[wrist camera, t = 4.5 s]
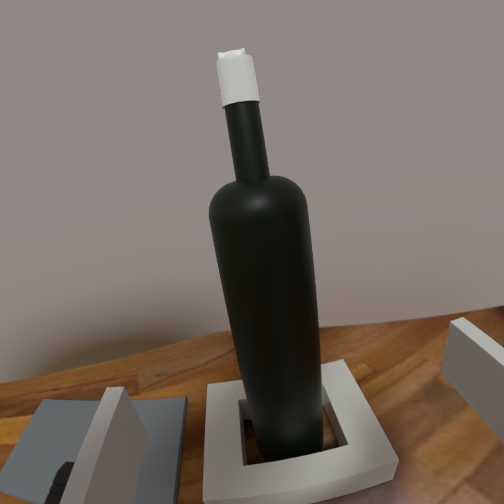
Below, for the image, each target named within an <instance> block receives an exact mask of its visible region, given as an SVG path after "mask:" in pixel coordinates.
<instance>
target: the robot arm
mask: <svg viewBox="0 0 504 504" xmlns="http://www.w3.org/2000/svg"><path fill="white" fill-rule="evenodd" d="M441 374H442V375H443V376H444V377H445V378H446V379H447V380H448V382H449V383H450V384H451V385H452V386H453V387H454V388H455V389H456V390H457V391H458V393H459V394H460V395H461V396H462V397H463V398H464V399H465V400H466V401H467V403H468V404H469V405H470V406H471V407H472V408H473V409H474V410H475V412H476V413H477V414H478V415H479V416H480V417H481V418H482V420H483V421H484V422H485V423H486V424H487V425H488V427H489V428H490V429H491V430H492V431H493V432H494V434H495V435H496V436H497V437H498V438H499V440H500V441H501V442H502V443H503V444H504V348H503V347H502V346H500V345H499V344H498V343H497V342H495V341H494V340H493V339H491V338H490V337H489V336H488V335H486V334H485V333H484V332H482V331H481V330H480V329H478V328H477V327H476V326H474V325H473V324H472V323H470V322H469V321H468V320H466V319H465V318H464V317H461V318H459V319H456V320H453V321H451V322H450V325H449V332H448V338H447V344H446V349H445V354H444V360H443V364H442V369H441ZM147 436H148V433H147V431H146V430H145V428H144V426H143V424H142V422H141V420H140V418H139V416H138V414H137V412H136V410H135V408H134V406H133V404H132V402H131V400H130V398H129V396H128V394H127V392H126V390H125V387H107V389H106V391H105V393H104V395H103V397H102V400H101V402H100V404H99V406H98V409H97V411H96V413H95V415H94V418H93V420H92V422H91V425H90V427H89V429H88V432H87V434H86V437H85V439H84V441H83V444H82V446H81V449H80V451H79V454H78V456H77V459H76V461H75V462H68V461H66V462H65V463H64V464H63V465H62V466H61V467H60V468H59V470H58V471H57V473H56V475H55V477H54V480H53V485H51V487H50V490H49V494H48V495H47V498H46V500H45V503H44V504H133V503H134V498H135V493H136V488H137V483H138V478H139V473H140V468H141V463H142V459H143V454H144V450H145V445H146V441H147Z"/></svg>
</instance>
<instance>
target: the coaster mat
mask: <svg viewBox="0 0 504 504" xmlns="http://www.w3.org/2000/svg"><path fill="white" fill-rule="evenodd" d="M100 402H101V401H76V400H51V399H43V401H42V402H41V404H40V406H39V407H38V409H37V410H36V412H35V414H34V415H33V417H32V418H31V420H30V422H29V423H28V425H27V427H26V428H25V430H24V432H23V433H22V435H21V437H20V438H19V440H18V442H17V444H16V445H15V447H14V449H13V451H12V452H11V454H10V456H9V458H8V460H7V461H6V463H5V465H4V467H3V469H2V471H1V472H0V492H2V493H5V494H7V495H10V496H13V497H16V498H18V499H21V500H24V501H27V502H30V503H34V504H44V503H45V500H46V498H47V495H48V494H49V490H50V487H51V485H53V480H54V477H55V475H56V473H57V471H58V470H59V468H60V467H61V466H62V465H63V464H64V463H65V462H66V461H68V462H75V461H76V459H77V456H78V454H79V451H80V449H81V446H82V444H83V441H84V439H85V437H86V434H87V432H88V429H89V427H90V425H91V422H92V420H93V418H94V415H95V413H96V411H97V409H98V406H99V404H100ZM131 402H132V404H133V406H134V408H135V410H136V412H137V414H138V416H139V418H140V420H141V422H142V424H143V426H144V428H145V430H146V431H147V433H148V436H147V441H146V445H145V450H144V454H143V459H142V463H141V468H140V473H139V478H138V483H137V488H136V493H135V498H134V503H133V504H177V493H178V482H179V472H180V463H181V453H182V444H183V436H184V427H185V419H186V411H187V403H188V401H187V399H186V397H175V398H162V399H145V400H131Z"/></svg>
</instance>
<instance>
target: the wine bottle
mask: <svg viewBox="0 0 504 504" xmlns="http://www.w3.org/2000/svg"><path fill="white" fill-rule="evenodd" d="M218 57H219V58H218V60H217V62H216V67H217V73H218V80H219V86H220V93H221V99H222V105H223V108H224V109H225V113H226V120H227V126H228V132H229V138H230V145H231V151H232V158H233V164H234V170H235V176H236V181H234V182H231V183H228V184H226V185H225V186H223V187H222V188H221V189H220V190H218V191H217V193H216V194H215V195H214V197H213V199H212V201H211V203H210V207H209V220H210V226H211V231H212V236H213V242H214V247H215V252H216V258H217V263H218V268H219V273H220V278H221V283H222V288H223V293H224V297H225V303H226V308H227V313H228V317H229V322H230V327H231V332H232V336H233V341H234V345H235V350H236V355H237V359H238V364H239V368H240V373H241V377H242V381H243V386H244V390H245V394H246V399H247V403H248V407H249V411H250V416H251V420H252V424H253V428H254V432H255V436H256V440H257V444H258V448H259V452H260V454H261V455H262V457H263V458H264V459H265V460H267V461H268V462H274V461H280V460H285V459H290V458H295V457H300V456H305V455H310V454H314V453H318V452H320V450H321V448H322V445H323V404H322V377H321V356H320V339H319V324H318V310H317V297H316V285H315V275H314V263H313V253H312V243H311V235H310V225H309V217H308V209H307V202H306V198H305V196H304V194H303V192H302V190H301V189H300V187H299V186H297V184H296V183H294V182H293V181H291V180H289V179H287V178H285V177H281V176H270V174H269V168H268V161H267V155H266V148H265V141H264V135H263V129H262V123H261V116H260V110H259V105H258V104H259V102H260V100H259V94H258V88H257V82H256V77H255V71H254V65H253V59H252V57H251V56H249V55H246V54H245V49H244V48H242V49H240V50H231V51H227V52H225V53H220V52H218Z"/></svg>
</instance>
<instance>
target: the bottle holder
mask: <svg viewBox="0 0 504 504" xmlns="http://www.w3.org/2000/svg"><path fill="white" fill-rule="evenodd" d="M321 377H322V404H323V405H324V408H325V410H326V413H327V415H328V418H329V421H330V423H331V426H332V428H333V431H334V433H335V436H336V438H337V441H338V444H339V446H340V447H338V448H334V449H330V450H327V451H322V452H318V453H314V454H310V455H305V456H300V457H295V458H290V459H285V460H280V461H274V462H268V463H261V464H254V465H247V454H246V443H245V432H244V420H250V419H251V416H250V411H249V407H248V403H247V399H246V394H245V390H244V386H243V381H242V380H236V381H229V382H222V383H214V384H208V386H207V403H206V422H205V444H204V470H203V502H204V504H311V503H316V502H320V501H324V500H328V499H332V498H336V497H340V496H343V495H347V494H350V493H354V492H357V491H360V490H363V489H366V488H370V487H373V486H375V485H378V484H381V483H384V482H387V481H389V480H392V479H393V477H394V474H395V471H396V468H397V465H398V462H399V458H398V456H397V455H396V453H395V451H394V449H393V447H392V445H391V444H390V442H389V440H388V438H387V436H386V435H385V433H384V431H383V429H382V427H381V426H380V424H379V422H378V420H377V418H376V417H375V415H374V413H373V411H372V409H371V408H370V406H369V404H368V402H367V400H366V399H365V397H364V395H363V393H362V392H361V390H360V388H359V386H358V385H357V383H356V381H355V379H354V377H353V376H352V374H351V372H350V370H349V369H348V367H347V365H346V364H345V362H344V360H343V359H342V360H338V361H334V362H330V363H326V364H321Z"/></svg>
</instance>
